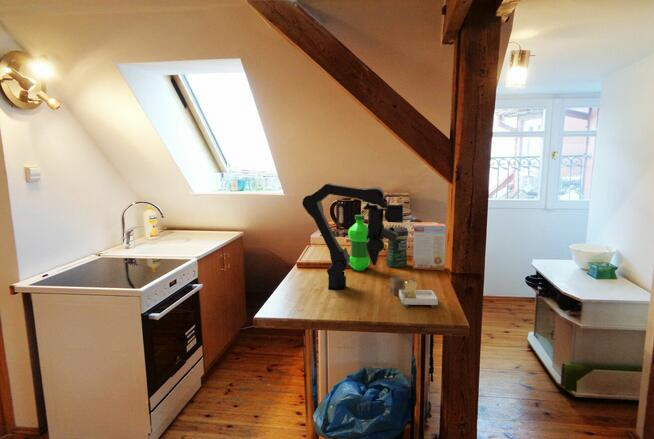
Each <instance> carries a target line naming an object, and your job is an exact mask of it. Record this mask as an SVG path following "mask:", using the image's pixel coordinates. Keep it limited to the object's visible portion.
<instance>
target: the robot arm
mask: <svg viewBox="0 0 654 439" xmlns="http://www.w3.org/2000/svg"><path fill="white" fill-rule="evenodd" d="M329 195H333V196H339V197H346V198H352V199H358V200H361V201H363V202H366V204H365V206H363V207H362V210H365V211H366V210H367V212H368V213H367V227H368V233H367V251H368V256H369V258H370V262H371V264H372V265H373V266H376V265H377V261H378V258H379V254H380V252H382V251H383V250H384V248H385V241H384V238H385V239H387V240H388V239H389V240H391V241H392V242H395V241H396V238H397V236H398V233H397V232H396V231H394V226H389V227H385V225H384V220H385V221H387V223H396V224H397V223H399V224H403V223H404V214H405V212H404V204H402V203H401V204H400V203H399V204H390V202H389V201H388V200H387V198H386V194H385V191H384V190H383V189H382V188H381V187H363V188H359V187H354V186H353V187H352V186H346V185H341V184H340V185H338V184H333V183H325V184H324V185H323V186H322V187H321V188H319V189H318V190H317V191H315V192H314V193H311V194H309V195H308V194H307V195H306V196H304V198H303V199H302V201H301V202H302V207H303V208H304V209H305V211H306V213H307V214H308V215H309V216H310V217H311V218H312V219H313V220H314V223H315V224H316V227H317V228H318V230H319V233H320V234H321V237H322V238H323V240H324V243H325V244H326V247H327V249H328V251H329V256H330V257H329V258H330V262H331V265H330V266H329V268H328V269H326V272H327V275H328V282H327V283H328V285H327V289H328V291H333V290H334V291H345V288H346V287H347V276H346V275H345V271H346V269H347V268H348V267H349V266H350V264H349V263H350V255H351V254H349V253H348V250H347V247H344V248H343V247H342V246H340V244H339V242H338V240H337V237H336V236H335V234H334V231H333V230H332V228H331V226H330V223H329V221H328V220H327V218H326V215H325V212H324V205H323V202H322V201H324V200H325V199H326V198H327V197H329ZM368 238H369V239H368Z"/></svg>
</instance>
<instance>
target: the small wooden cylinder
mask: <svg viewBox="0 0 654 439" xmlns="http://www.w3.org/2000/svg"><path fill="white" fill-rule="evenodd" d="M404 286H405V298H413V299H416V290H417V286H418V285H417V281H416V280H414V279H407V280H404Z"/></svg>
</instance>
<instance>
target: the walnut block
mask: <svg viewBox="0 0 654 439" xmlns="http://www.w3.org/2000/svg"><path fill="white" fill-rule="evenodd" d="M404 286H405V279H404V278H402V277H400V276H396V277H395V276H394V277H390V278H389V292H390V294H392V295H393V296H399V290H404Z"/></svg>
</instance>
